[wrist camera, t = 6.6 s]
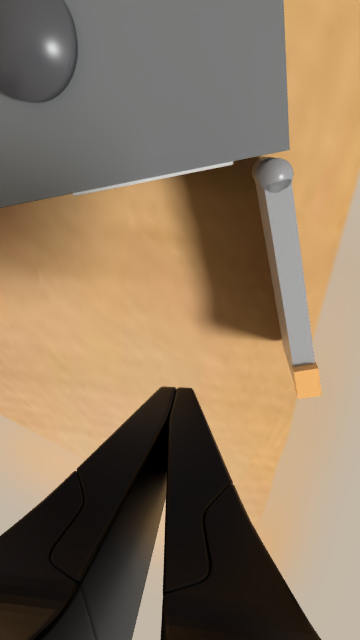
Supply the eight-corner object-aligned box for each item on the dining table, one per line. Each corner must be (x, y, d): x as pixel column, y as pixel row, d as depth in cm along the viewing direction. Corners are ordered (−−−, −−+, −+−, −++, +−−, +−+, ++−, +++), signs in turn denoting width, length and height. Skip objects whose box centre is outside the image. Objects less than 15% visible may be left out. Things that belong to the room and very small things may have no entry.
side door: (274, 154, 16) (292, 154, 12) (301, 343, 20) (322, 395, 16) (249, 161, 16) (258, 164, 12) (281, 347, 21) (297, 398, 16)
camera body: (272, 153, 17) (292, 154, 12) (52, 197, 19) (-10, 214, 14) (258, -74, 13) (278, -212, 8) (-9, 12, 15) (-120, -55, 10)
